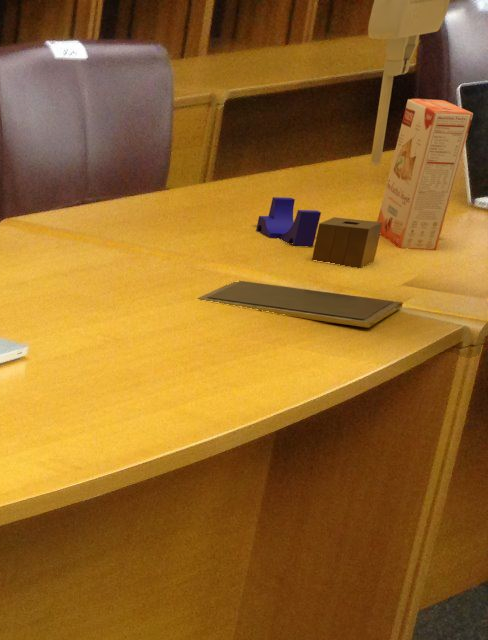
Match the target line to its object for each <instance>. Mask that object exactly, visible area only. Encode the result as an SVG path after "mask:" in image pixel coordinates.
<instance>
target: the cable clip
mask: <svg viewBox="0 0 488 640" xmlns="http://www.w3.org/2000/svg"><path fill="white" fill-rule="evenodd" d="M295 201H296V199H295V198H293V197H279V196H278V197H276V196H273V197H272V199H271V204H270V207H269V213H268V215H259V216H258V219H257V223H256V228H255V231H256V232H260V234H261V235H263V236H265V237H266V238H268V239H277V238H279V240H281V239H282V240H283V241H282V240H281V241H282V242H284V241H285V242H284V243H286V242H287V243H286V244H288V243H293V244H291V246H292V245H293V246H313V247H314V245H315V241H316V237H317V233H318V228H319V224H320V223H319V222H320V219H321V214H322V212H321V211H319V210H315V209H314V210H313V209H311V210H310V209H309V210H308V209H297V211H296V214H295V218H294V207H295ZM293 246H292V247H293Z"/></svg>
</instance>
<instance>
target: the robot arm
mask: <svg viewBox="0 0 488 640" xmlns="http://www.w3.org/2000/svg"><path fill="white" fill-rule="evenodd" d="M450 2H451V0H373V3H372V8H371V12H370V17H369V20H368V26H367V36H368V38H369V39H373V40H375V39H376V40H386V43H385V60H386V65H385V64H384V67H385V70H384V69H383V73H384V74H385V75H386V76H394V77H397V76H400V75H405V74H407V73H408V72H409V70H410V64H411V60H412V58H413V55H414V53H415V52H416V49H417V46H418V44H419V39H420V35H425V34H431V33H435V32H438V31H439V30H440V29H441V27H442V25H443V22H444V21H445V18H446V15H447V12H448V9H449V5H450Z"/></svg>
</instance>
